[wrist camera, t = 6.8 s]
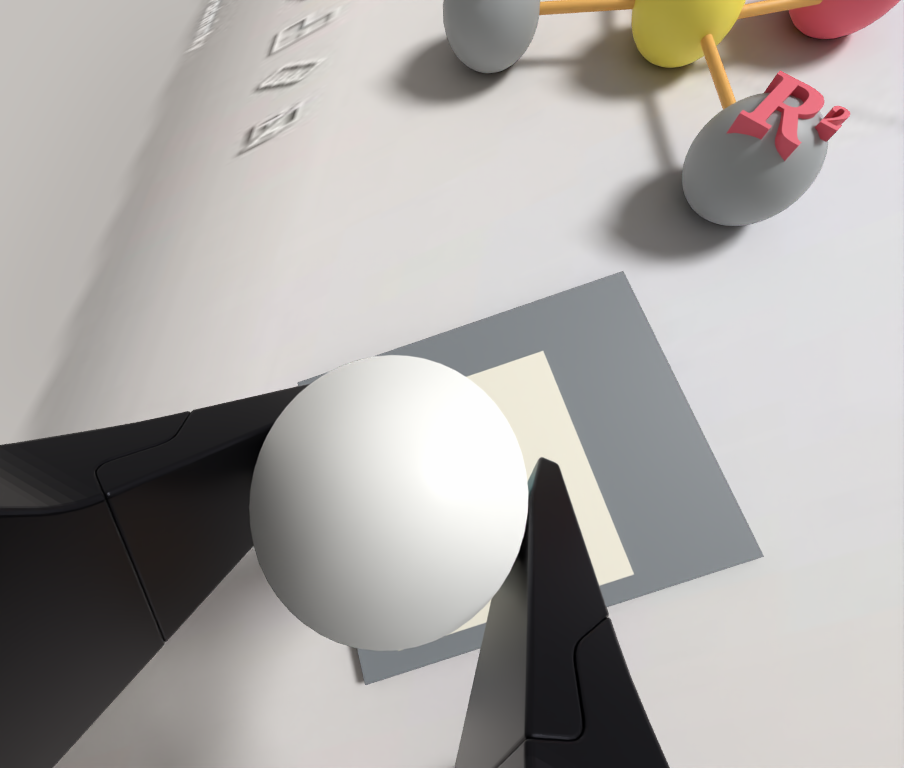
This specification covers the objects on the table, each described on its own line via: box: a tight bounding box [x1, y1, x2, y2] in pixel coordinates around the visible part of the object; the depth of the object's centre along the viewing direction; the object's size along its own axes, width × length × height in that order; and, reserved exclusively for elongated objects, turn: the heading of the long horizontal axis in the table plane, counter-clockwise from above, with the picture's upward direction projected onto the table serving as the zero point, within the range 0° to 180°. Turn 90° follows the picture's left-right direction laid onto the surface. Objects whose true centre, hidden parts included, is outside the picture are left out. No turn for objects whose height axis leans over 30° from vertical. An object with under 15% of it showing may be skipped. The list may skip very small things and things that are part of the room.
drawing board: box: [298, 271, 764, 685], centre depth 22 cm, size 20×16×1 cm
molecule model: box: [443, 0, 900, 226], centre depth 25 cm, size 25×21×6 cm
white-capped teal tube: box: [249, 355, 528, 651], centre depth 11 cm, size 4×4×10 cm
